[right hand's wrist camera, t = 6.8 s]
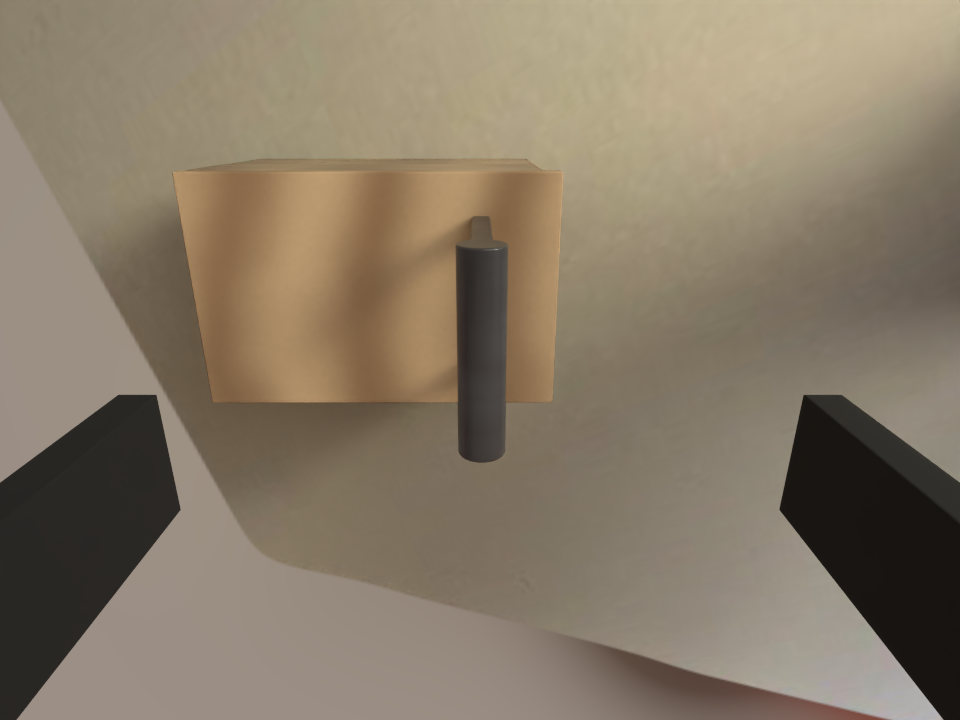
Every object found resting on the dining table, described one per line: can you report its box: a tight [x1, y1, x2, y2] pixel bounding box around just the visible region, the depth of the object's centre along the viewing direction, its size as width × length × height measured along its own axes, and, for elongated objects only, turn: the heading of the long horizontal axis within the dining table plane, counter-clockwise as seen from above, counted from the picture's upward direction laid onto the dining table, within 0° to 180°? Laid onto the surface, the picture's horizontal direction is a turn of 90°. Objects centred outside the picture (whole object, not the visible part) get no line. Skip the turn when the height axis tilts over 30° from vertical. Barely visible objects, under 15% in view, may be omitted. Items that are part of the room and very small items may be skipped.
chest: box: [185, 159, 543, 171], centre depth 29 cm, size 14×10×9 cm
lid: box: [172, 171, 563, 462], centre depth 21 cm, size 15×10×8 cm, turn 90°
